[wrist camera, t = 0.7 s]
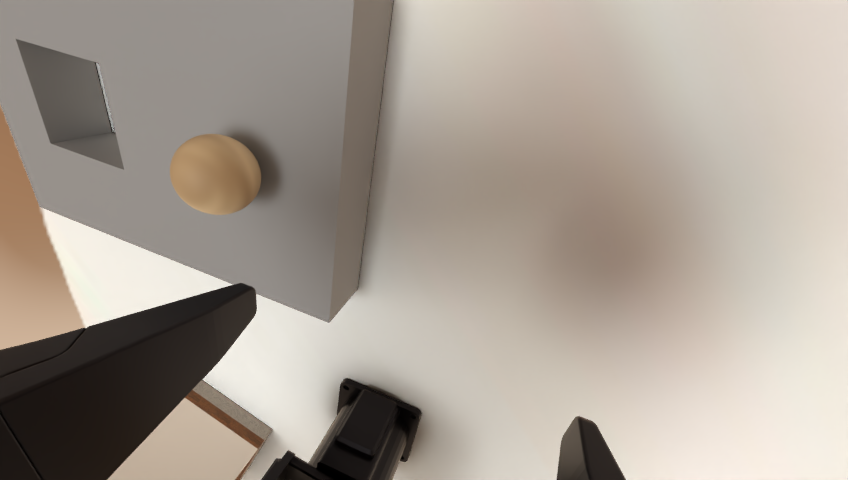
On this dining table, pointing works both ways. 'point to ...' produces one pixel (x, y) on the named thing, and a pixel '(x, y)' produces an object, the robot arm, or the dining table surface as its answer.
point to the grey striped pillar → (198, 441)
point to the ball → (215, 174)
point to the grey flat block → (206, 127)
